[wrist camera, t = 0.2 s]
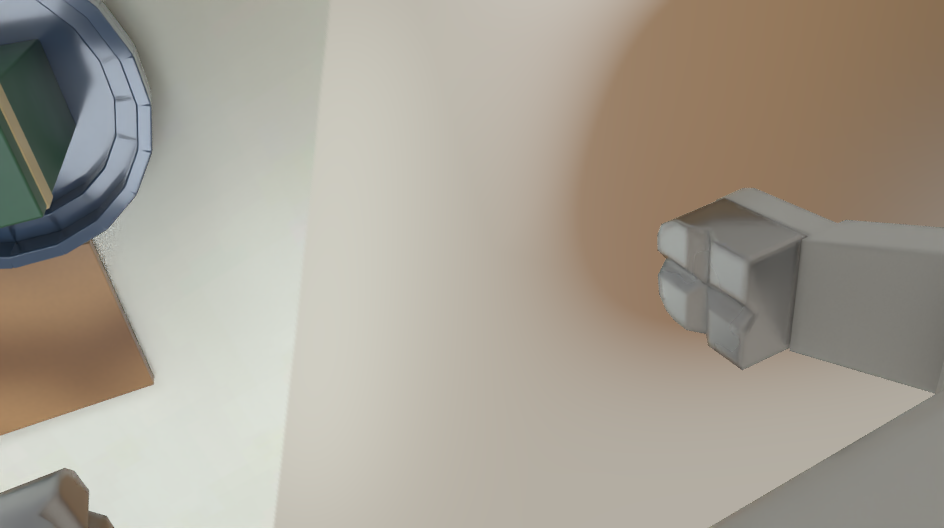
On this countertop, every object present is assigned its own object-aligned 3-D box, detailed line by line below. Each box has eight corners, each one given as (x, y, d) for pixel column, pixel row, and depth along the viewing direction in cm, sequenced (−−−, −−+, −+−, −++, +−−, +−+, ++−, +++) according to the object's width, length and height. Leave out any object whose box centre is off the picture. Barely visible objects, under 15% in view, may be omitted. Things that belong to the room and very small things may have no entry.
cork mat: (-119, 292, 31) (-124, 299, 31) (90, 236, 34) (89, 242, 33) (-25, 435, 36) (-28, 445, 35) (154, 377, 38) (154, 384, 38)
